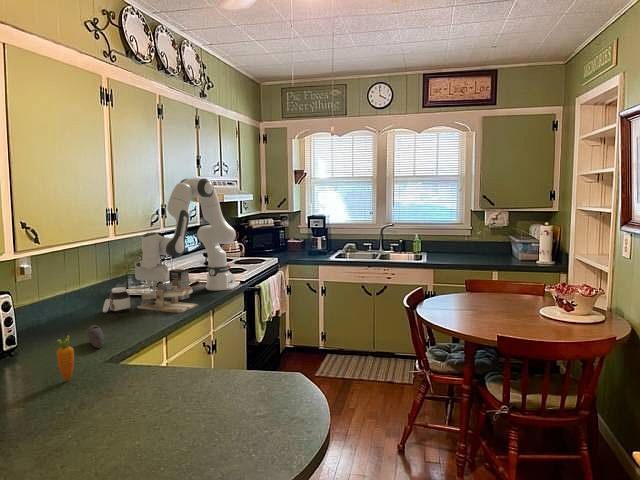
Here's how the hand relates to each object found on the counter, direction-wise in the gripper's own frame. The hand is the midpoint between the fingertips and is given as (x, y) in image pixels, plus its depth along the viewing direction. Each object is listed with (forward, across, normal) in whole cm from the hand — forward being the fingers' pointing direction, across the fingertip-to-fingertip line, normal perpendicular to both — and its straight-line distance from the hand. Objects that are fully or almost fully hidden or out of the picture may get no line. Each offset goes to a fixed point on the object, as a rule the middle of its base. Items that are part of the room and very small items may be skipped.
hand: (152, 289), depth 254 cm
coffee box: (+9, -2, -19) cm, 21 cm away
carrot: (+10, -44, +89) cm, 100 cm away
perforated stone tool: (+10, -24, +59) cm, 64 cm away
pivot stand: (+9, -9, 0) cm, 13 cm away
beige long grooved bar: (+5, -10, 0) cm, 11 cm away
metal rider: (+1, -8, 0) cm, 9 cm away
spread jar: (+9, +10, +16) cm, 21 cm away
